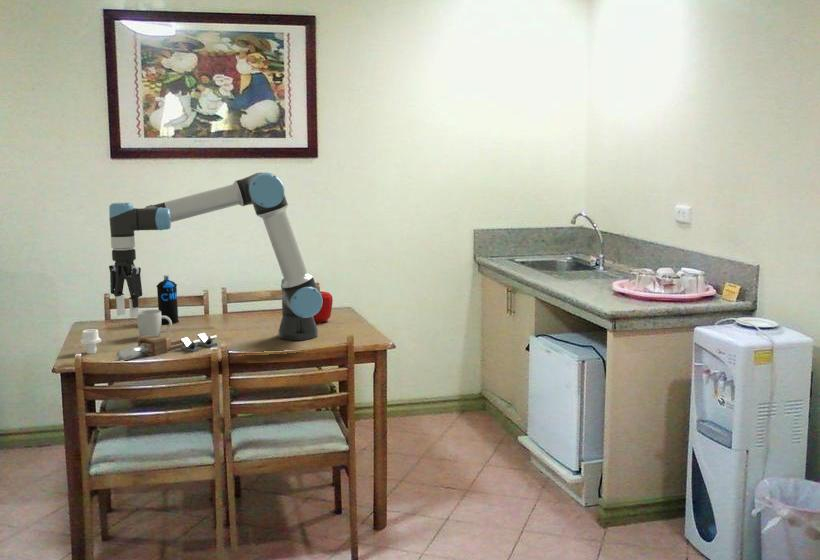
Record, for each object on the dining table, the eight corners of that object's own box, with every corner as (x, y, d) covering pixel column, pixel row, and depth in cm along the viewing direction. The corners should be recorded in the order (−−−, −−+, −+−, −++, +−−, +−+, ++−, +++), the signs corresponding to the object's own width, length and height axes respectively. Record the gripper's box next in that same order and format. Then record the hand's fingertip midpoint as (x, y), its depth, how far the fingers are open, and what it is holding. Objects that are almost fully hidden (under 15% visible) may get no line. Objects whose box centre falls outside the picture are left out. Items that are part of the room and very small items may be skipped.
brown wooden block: (171, 349, 282) (170, 338, 281) (147, 355, 273) (146, 344, 272) (164, 348, 283) (164, 337, 283) (141, 354, 275) (140, 343, 274)
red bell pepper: (337, 321, 327) (337, 289, 325) (317, 324, 320) (316, 292, 318) (323, 317, 335) (323, 286, 333) (303, 320, 328) (302, 289, 326)
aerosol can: (155, 322, 327) (152, 275, 324) (174, 319, 332) (171, 273, 329) (163, 325, 321) (160, 277, 318) (182, 322, 326) (179, 275, 323)
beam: (197, 344, 288) (196, 330, 287) (150, 356, 271) (150, 341, 270) (180, 341, 293) (179, 327, 292) (133, 353, 275) (133, 338, 274)
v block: (217, 345, 286) (217, 335, 285) (194, 352, 277) (193, 341, 276) (203, 343, 290) (203, 332, 289) (180, 349, 280) (179, 338, 280)
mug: (138, 341, 294) (136, 315, 292) (138, 336, 302) (136, 310, 301) (173, 338, 298) (171, 312, 296) (172, 333, 306) (170, 308, 305)
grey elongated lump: (140, 352, 275) (142, 342, 273) (147, 357, 273) (149, 347, 271) (116, 358, 266) (117, 348, 265) (123, 363, 264) (125, 353, 263)
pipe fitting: (99, 354, 274) (98, 332, 273) (78, 355, 273) (76, 332, 272) (104, 350, 280) (103, 328, 279) (84, 350, 280) (82, 328, 278)
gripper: (151, 249, 261) (155, 316, 264) (114, 246, 271) (119, 311, 275) (132, 251, 255) (137, 320, 258) (95, 248, 265) (100, 314, 268)
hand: (127, 315), depth 266 cm, fingers open, 6 cm apart
